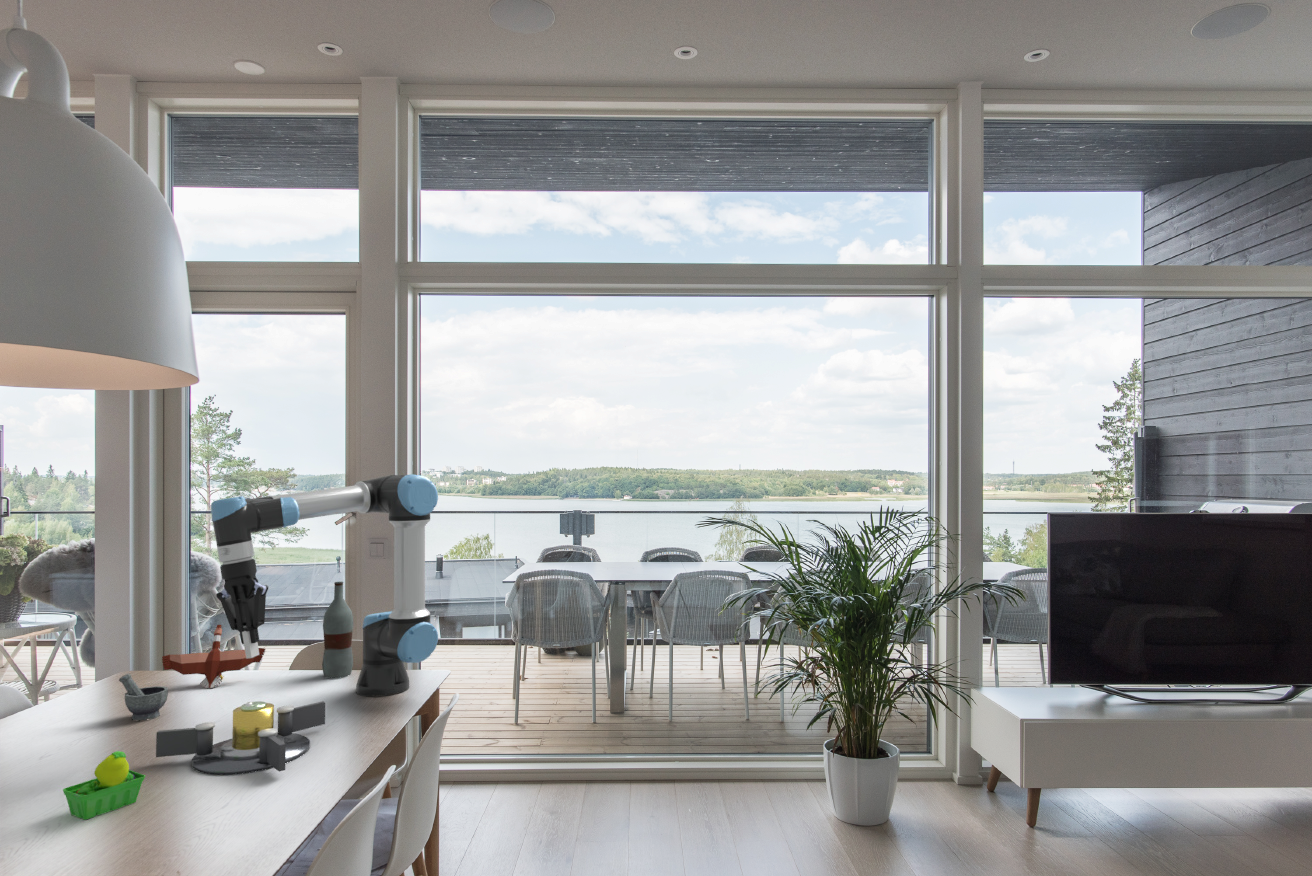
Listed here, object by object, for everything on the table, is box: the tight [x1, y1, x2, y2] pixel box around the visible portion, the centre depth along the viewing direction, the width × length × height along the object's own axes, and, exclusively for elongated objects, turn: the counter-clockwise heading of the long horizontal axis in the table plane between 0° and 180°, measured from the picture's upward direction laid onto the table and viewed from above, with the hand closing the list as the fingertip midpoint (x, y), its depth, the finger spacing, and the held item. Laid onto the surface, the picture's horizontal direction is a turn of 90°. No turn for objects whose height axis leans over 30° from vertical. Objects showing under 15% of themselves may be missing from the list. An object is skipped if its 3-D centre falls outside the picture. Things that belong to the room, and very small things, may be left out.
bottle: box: [321, 581, 354, 679], centre depth 244 cm, size 9×9×30 cm
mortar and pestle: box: [118, 673, 169, 722], centre depth 201 cm, size 11×9×12 cm
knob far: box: [155, 721, 216, 758], centre depth 170 cm, size 12×4×6 cm, turn 105°
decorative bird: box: [161, 624, 266, 690], centre depth 235 cm, size 28×18×15 cm, turn 110°
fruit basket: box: [62, 750, 146, 820], centre depth 145 cm, size 11×9×11 cm
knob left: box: [258, 728, 286, 772], centre depth 164 cm, size 12×4×6 cm, turn 45°
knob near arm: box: [276, 700, 326, 736], centre depth 186 cm, size 12×4×6 cm, turn 138°
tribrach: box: [191, 700, 311, 776], centre depth 174 cm, size 24×24×12 cm
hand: (252, 656), depth 182 cm, fingers closed
